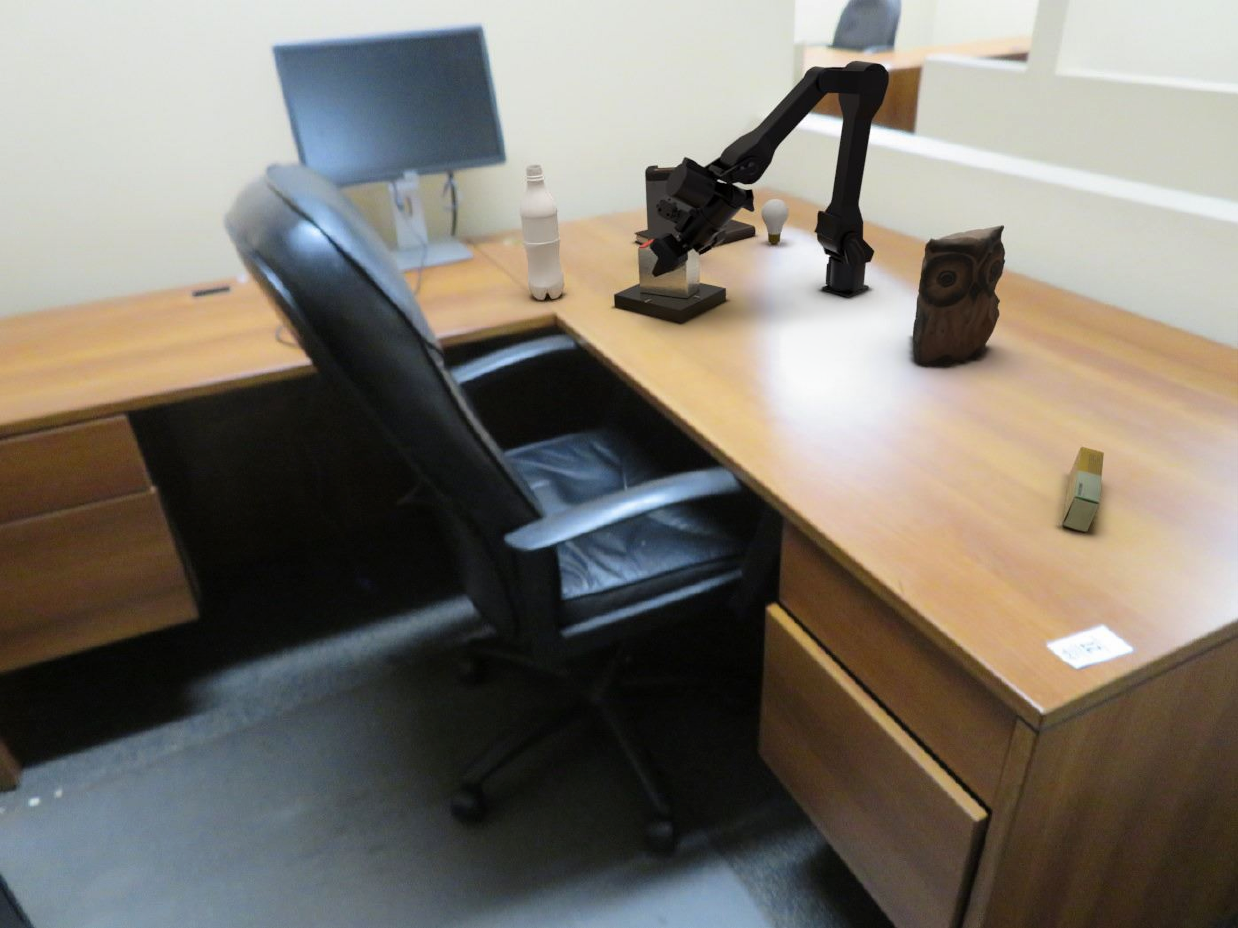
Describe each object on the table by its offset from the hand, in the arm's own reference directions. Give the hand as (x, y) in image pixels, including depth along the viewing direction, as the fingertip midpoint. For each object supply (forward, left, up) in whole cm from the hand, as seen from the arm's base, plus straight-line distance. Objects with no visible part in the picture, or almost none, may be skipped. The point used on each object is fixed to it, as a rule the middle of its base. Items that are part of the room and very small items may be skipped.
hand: (662, 269), depth 159 cm
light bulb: (+9, -42, -7) cm, 43 cm away
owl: (-50, -15, -7) cm, 53 cm away
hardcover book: (+26, -34, -7) cm, 43 cm away
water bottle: (+21, +12, -7) cm, 25 cm away
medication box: (-85, +13, -7) cm, 86 cm away
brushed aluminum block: (-1, -1, -4) cm, 4 cm away
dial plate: (-1, -1, -7) cm, 7 cm away
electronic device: (+17, -18, -7) cm, 25 cm away
